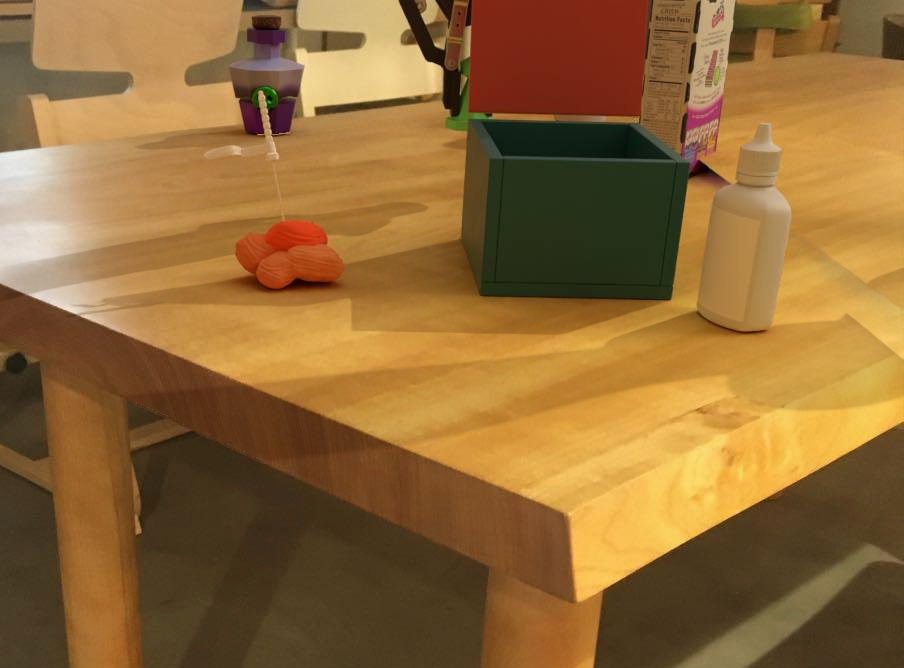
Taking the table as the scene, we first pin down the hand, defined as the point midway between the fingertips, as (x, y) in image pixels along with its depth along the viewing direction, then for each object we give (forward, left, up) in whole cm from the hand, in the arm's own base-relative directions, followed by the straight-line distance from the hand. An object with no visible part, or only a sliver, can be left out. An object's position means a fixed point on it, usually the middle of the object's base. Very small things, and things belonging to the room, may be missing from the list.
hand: (470, 114), depth 108 cm
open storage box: (-5, +24, -7) cm, 25 cm away
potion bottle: (+19, -31, -7) cm, 37 cm away
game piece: (0, 0, -1) cm, 1 cm away
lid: (-5, +14, +11) cm, 18 cm away
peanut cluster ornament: (+15, +29, -7) cm, 33 cm away
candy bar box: (-22, -13, -7) cm, 26 cm away
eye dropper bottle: (-14, +36, -7) cm, 39 cm away
